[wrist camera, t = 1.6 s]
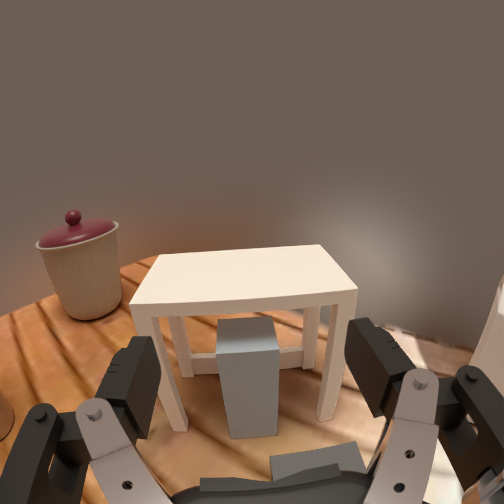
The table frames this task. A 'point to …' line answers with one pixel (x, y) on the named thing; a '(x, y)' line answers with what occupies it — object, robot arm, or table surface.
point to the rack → (246, 310)
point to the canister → (83, 265)
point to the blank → (249, 375)
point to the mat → (318, 460)
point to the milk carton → (492, 345)
